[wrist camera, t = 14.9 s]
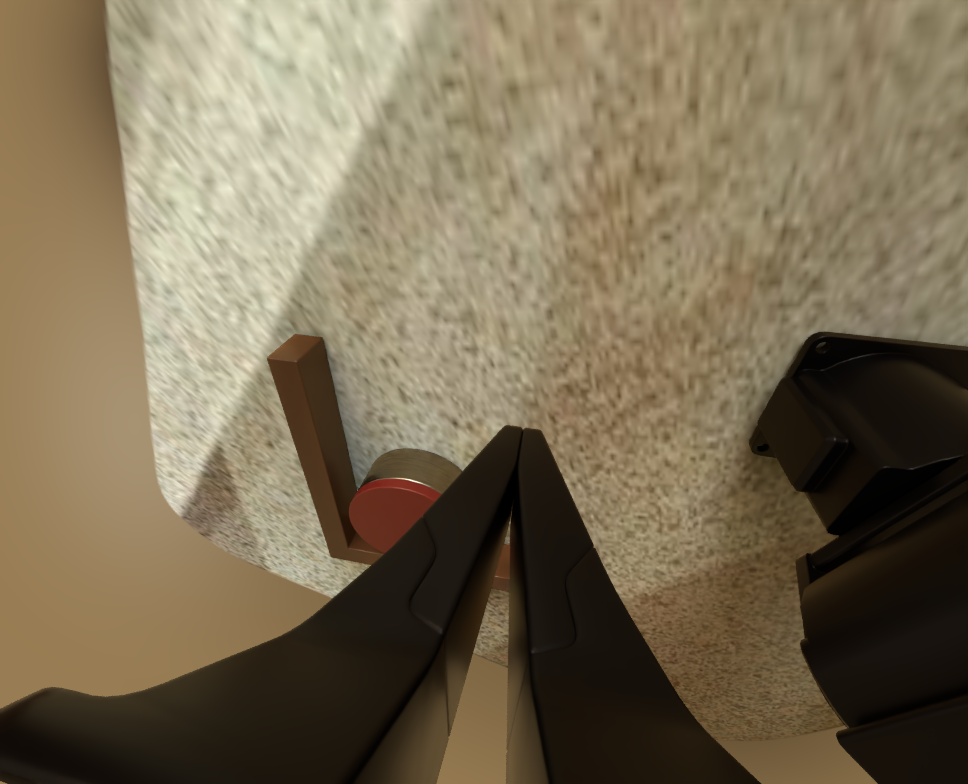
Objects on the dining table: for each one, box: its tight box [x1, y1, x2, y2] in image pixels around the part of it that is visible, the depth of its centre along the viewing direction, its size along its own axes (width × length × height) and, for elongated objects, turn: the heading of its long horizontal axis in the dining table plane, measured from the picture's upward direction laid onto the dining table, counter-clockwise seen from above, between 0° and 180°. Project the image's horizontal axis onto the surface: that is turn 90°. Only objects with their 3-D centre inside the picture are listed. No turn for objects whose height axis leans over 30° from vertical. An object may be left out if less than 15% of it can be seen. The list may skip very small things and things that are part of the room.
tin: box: [349, 449, 462, 553], centre depth 26 cm, size 7×7×3 cm
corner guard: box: [267, 334, 510, 592], centre depth 24 cm, size 16×17×2 cm
